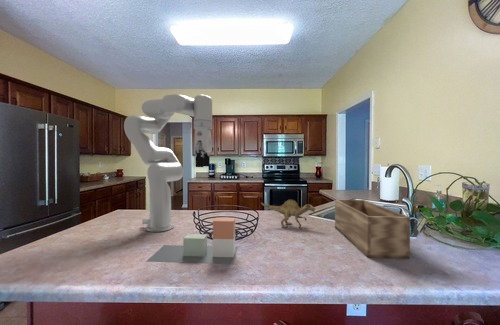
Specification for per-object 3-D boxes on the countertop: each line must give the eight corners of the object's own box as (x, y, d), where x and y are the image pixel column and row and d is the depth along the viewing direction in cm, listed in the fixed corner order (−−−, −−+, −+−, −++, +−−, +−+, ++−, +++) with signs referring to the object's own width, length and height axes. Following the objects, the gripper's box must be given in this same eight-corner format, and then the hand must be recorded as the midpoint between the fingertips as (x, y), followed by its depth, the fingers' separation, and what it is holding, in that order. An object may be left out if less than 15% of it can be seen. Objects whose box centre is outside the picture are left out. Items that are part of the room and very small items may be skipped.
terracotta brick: (212, 238, 72) (212, 220, 71) (215, 234, 76) (215, 217, 75) (233, 239, 71) (233, 221, 71) (235, 235, 75) (235, 218, 75)
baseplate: (145, 263, 68) (145, 261, 68) (164, 247, 81) (164, 245, 81) (233, 266, 67) (233, 264, 67) (237, 249, 80) (237, 247, 80)
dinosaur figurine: (315, 229, 102) (315, 202, 102) (260, 226, 107) (260, 199, 107) (313, 225, 110) (313, 199, 110) (262, 222, 115) (262, 197, 114)
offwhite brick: (212, 256, 72) (212, 238, 71) (215, 251, 76) (215, 234, 75) (233, 257, 71) (233, 239, 71) (235, 252, 75) (235, 235, 75)
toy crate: (367, 257, 73) (367, 216, 73) (335, 227, 105) (335, 199, 105) (409, 258, 73) (410, 217, 72) (364, 228, 105) (364, 200, 104)
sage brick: (183, 255, 72) (183, 238, 72) (187, 250, 76) (187, 234, 76) (203, 256, 72) (203, 238, 72) (206, 251, 76) (207, 234, 76)
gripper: (206, 122, 81) (206, 167, 81) (216, 128, 98) (216, 166, 98) (187, 122, 81) (187, 167, 82) (200, 128, 99) (199, 166, 99)
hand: (202, 166), depth 90 cm, fingers open, 9 cm apart
